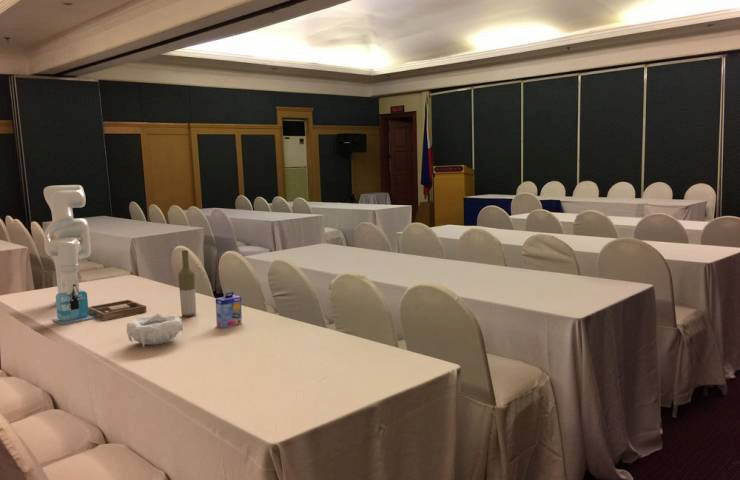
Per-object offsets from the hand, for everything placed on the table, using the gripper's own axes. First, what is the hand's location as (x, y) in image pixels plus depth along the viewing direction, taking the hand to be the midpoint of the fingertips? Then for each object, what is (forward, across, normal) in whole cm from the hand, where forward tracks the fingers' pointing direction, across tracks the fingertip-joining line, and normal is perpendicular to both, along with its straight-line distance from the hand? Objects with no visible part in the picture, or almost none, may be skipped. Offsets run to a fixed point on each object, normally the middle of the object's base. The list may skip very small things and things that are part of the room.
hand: (72, 307), depth 265 cm
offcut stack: (+6, +6, +18) cm, 20 cm away
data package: (+5, 0, 0) cm, 5 cm away
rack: (+5, +2, +18) cm, 19 cm away
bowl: (+6, +63, +10) cm, 64 cm away
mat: (+5, 0, 0) cm, 5 cm away
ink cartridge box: (+6, +62, +42) cm, 75 cm away
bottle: (+6, +34, +38) cm, 52 cm away
